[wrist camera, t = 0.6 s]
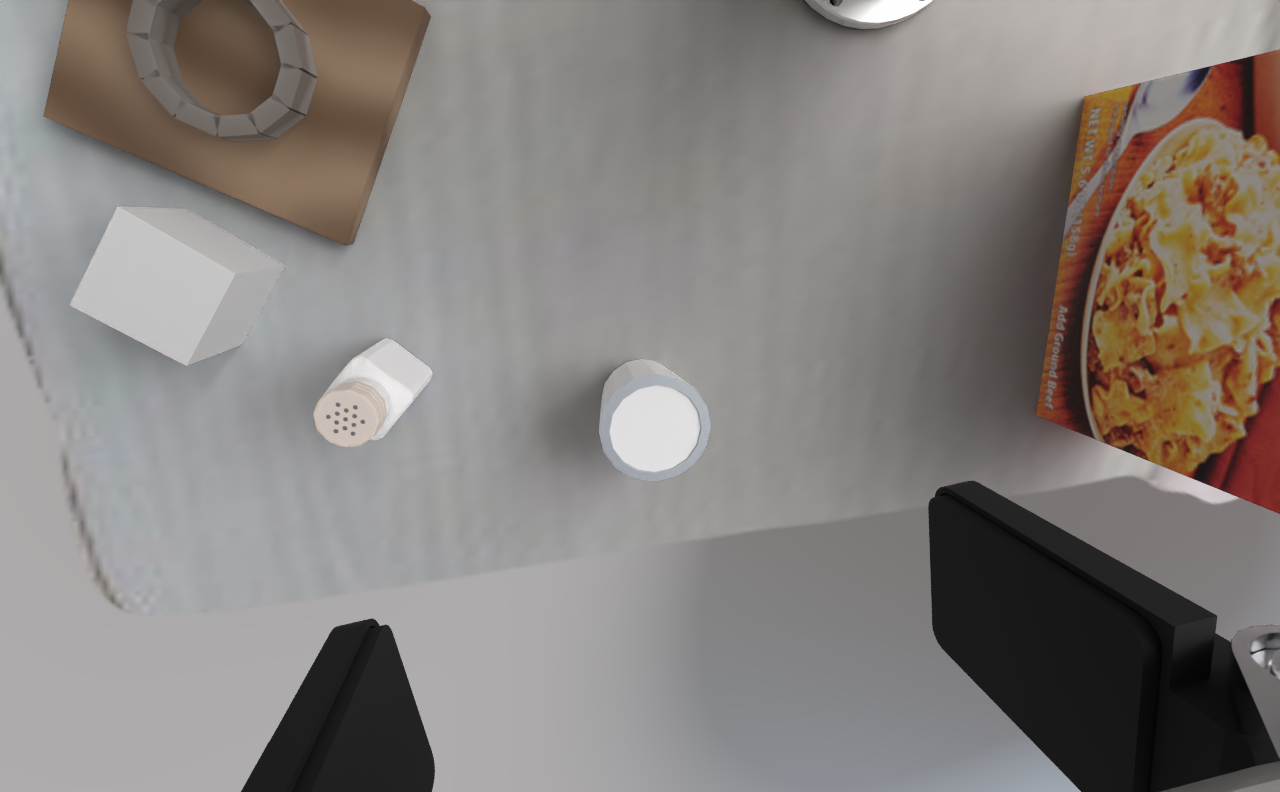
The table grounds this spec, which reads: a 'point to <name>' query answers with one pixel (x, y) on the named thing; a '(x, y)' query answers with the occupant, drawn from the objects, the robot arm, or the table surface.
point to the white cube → (176, 282)
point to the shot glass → (652, 421)
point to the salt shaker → (370, 394)
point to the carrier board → (245, 94)
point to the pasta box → (1176, 278)
